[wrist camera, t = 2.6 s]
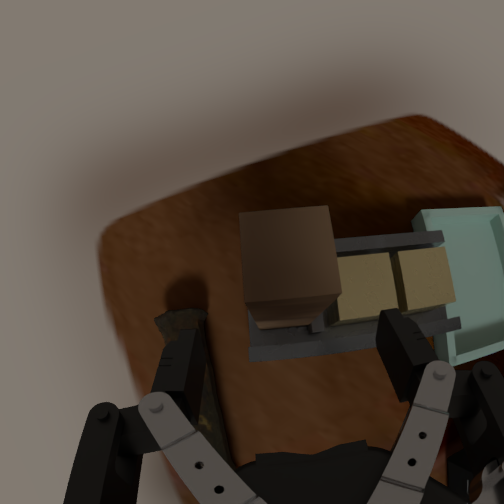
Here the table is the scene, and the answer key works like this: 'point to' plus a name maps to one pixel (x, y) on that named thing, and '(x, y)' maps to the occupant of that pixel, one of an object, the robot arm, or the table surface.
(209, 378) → the hand tool
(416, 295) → the tan cube
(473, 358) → the tray
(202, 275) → the table surface
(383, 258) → the pale yellow cube
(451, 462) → the electronic device
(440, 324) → the slot rail
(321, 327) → the tan wooden block
